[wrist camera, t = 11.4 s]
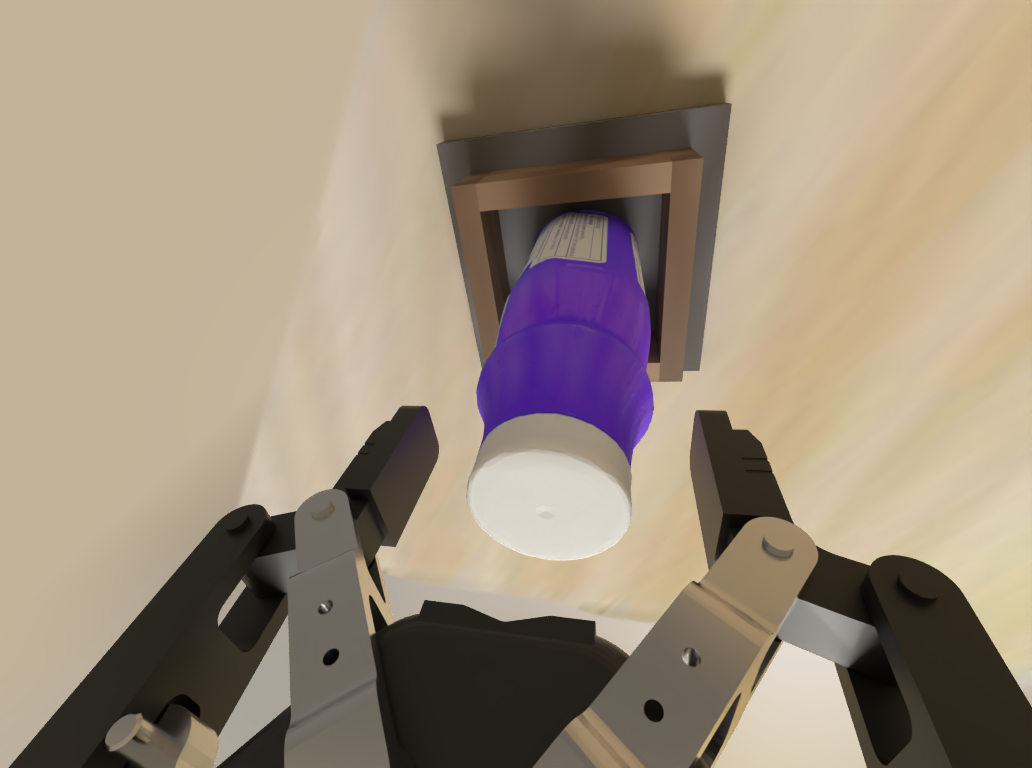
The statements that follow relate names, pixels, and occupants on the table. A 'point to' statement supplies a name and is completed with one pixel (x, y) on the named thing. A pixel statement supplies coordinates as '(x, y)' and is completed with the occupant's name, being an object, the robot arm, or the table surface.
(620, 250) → the bottle
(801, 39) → the table surface
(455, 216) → the open box
